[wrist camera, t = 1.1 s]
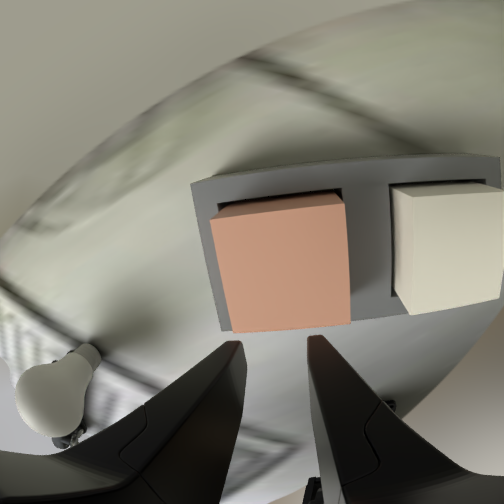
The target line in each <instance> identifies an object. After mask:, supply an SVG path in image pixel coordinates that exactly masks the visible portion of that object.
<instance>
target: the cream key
mask: <svg viewBox="0 0 504 504" xmlns="http://www.w3.org/2000/svg"><path fill="white" fill-rule="evenodd" d="M388 186H389V200H390V218H391V285H392V286H393V288H394V290H395V291H396V293H397V294H398V296H399V298H400V299H401V301H402V303H403V304H404V306H405V308H406V309H407V311H408V313H409V314H410V315H417V314H423V313H428V312H434V311H440V310H445V309H450V308H455V307H461V306H466V305H470V304H475V303H480V302H484V301H489V300H493V299H498V298H499V295H500V289H501V283H502V277H503V270H504V190H501V189H498V188H495V187H491V186H487V185H484V184H480V183H476V182H473V181H469V180H457V181H436V182H419V183H404V184H390V185H388Z"/></svg>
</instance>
